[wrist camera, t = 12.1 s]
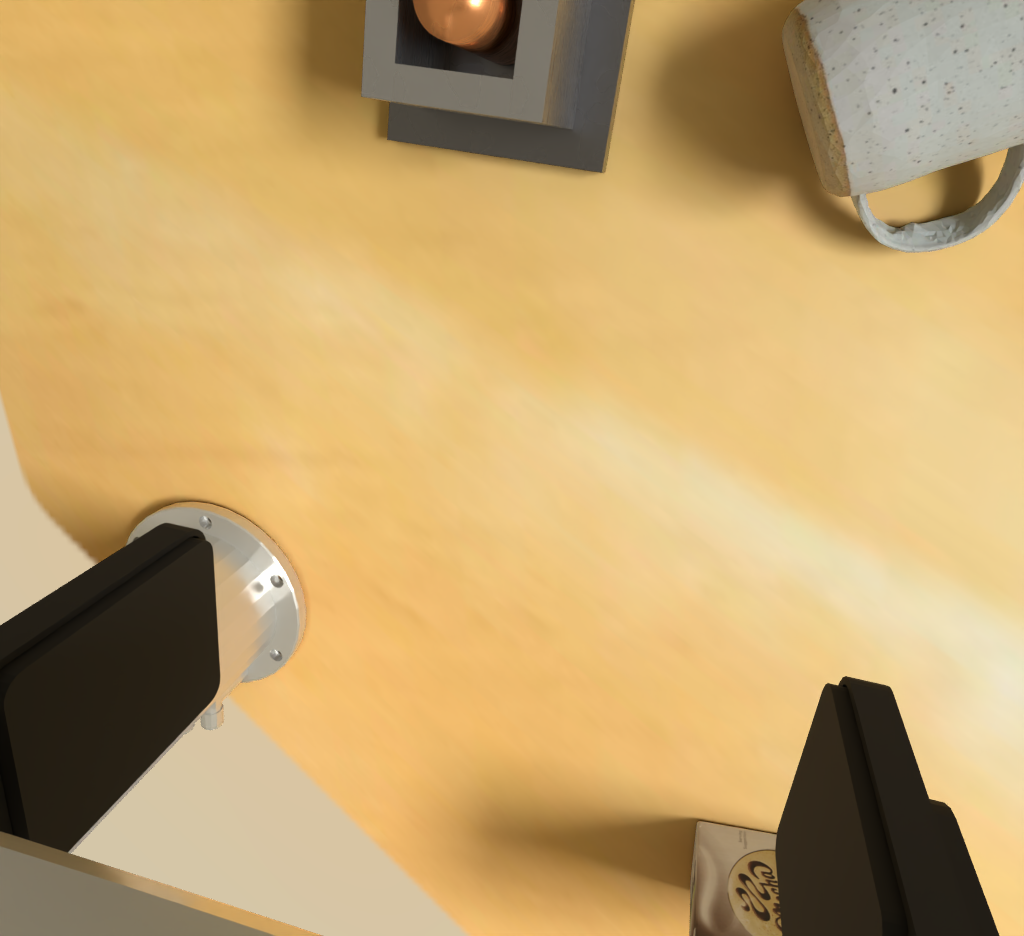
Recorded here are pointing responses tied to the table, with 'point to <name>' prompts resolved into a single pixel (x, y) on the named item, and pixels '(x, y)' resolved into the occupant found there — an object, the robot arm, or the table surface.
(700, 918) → the coffee box
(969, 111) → the ceramic mug
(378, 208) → the table surface
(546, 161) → the post
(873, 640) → the table surface
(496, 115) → the grey square open box
